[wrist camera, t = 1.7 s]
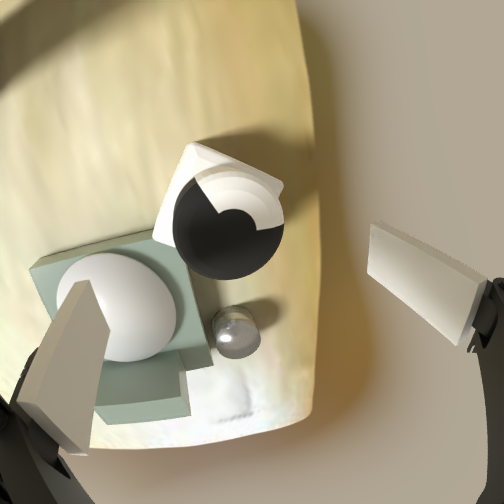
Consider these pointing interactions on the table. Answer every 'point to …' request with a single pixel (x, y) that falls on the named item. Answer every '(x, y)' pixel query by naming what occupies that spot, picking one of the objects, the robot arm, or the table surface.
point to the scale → (135, 323)
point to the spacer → (235, 332)
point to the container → (220, 214)
